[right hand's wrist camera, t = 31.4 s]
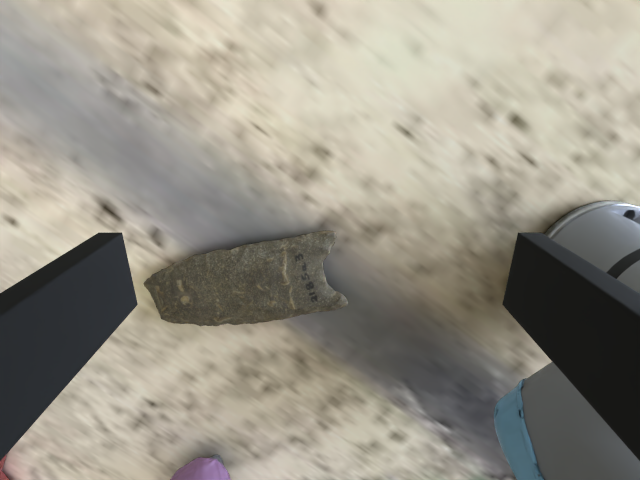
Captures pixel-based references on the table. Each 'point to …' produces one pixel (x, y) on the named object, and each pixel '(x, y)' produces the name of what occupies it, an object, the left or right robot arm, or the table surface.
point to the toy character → (203, 470)
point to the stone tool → (248, 283)
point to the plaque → (0, 477)
